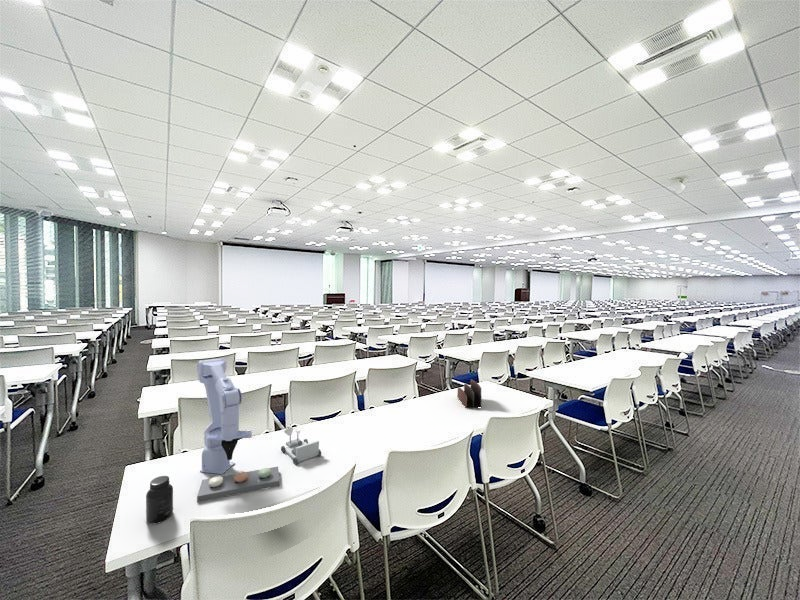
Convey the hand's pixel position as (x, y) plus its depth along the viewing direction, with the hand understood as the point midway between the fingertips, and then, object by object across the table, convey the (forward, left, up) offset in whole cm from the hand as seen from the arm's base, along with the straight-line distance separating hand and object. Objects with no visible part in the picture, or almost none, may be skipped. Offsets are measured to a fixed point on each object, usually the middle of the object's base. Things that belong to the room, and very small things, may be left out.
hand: (229, 458), depth 121 cm
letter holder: (+96, +104, -9) cm, 142 cm away
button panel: (+5, -1, -9) cm, 10 cm away
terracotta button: (+5, -1, -8) cm, 10 cm away
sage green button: (+12, +3, -8) cm, 15 cm away
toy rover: (+16, +25, -10) cm, 31 cm away
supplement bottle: (-10, -20, -9) cm, 24 cm away
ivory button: (-2, -5, -8) cm, 10 cm away
